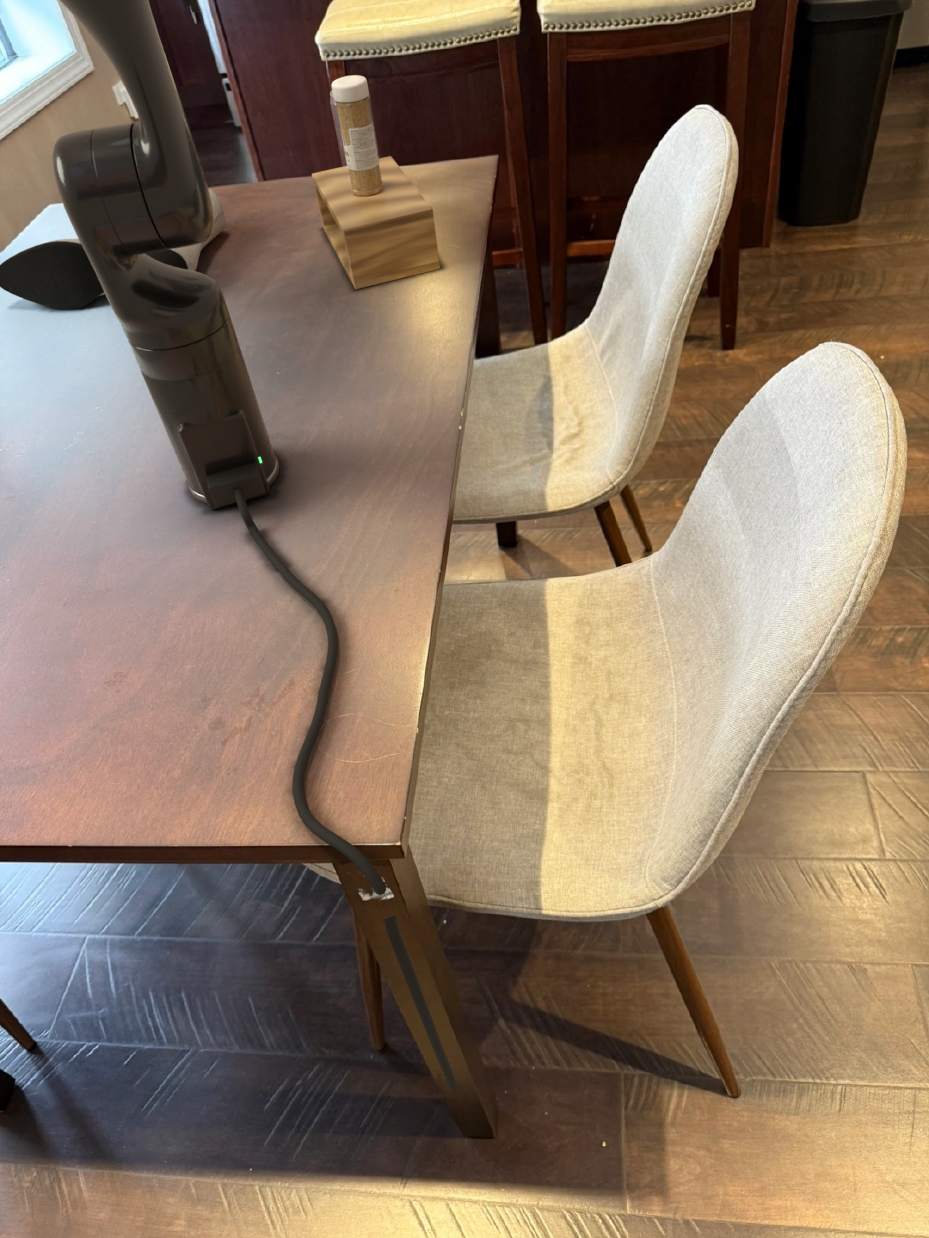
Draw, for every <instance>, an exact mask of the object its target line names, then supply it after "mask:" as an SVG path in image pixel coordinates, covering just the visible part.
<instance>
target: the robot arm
mask: <svg viewBox="0 0 929 1238" xmlns="http://www.w3.org/2000/svg"><path fill="white" fill-rule="evenodd" d="M58 1H59V2H60V3H61V4H62V5H63V6H64V7H65V8H66V9H67V10H68V11H69V12H70V13H71V14H72V15H73V17H74V18H75V19H76V21H78V22H79V23H80V24H81V25H82V27H83V28H84V29H85V31H86V32H87V33H88V34H89V35H90V37H91V38H92V39H93V41H94V42H95V43H96V44H97V46H98V47H99V48H100V50H101V51H102V52H103V54H104V55H105V56H106V58H107V59H108V61H109V62H110V64H111V66H112V67H113V68H114V70H115V72H116V73H117V75H118V77H119V79H120V81H121V82H122V84H123V87H124V88H125V90H126V92H127V94H128V96H129V98H130V101H131V103H132V105H133V107H134V109H135V112H136V115H137V117H138V120H139V121H133V122H127V123H120V124H113V125H109V126H102V127H95V128H90V129H89V128H88V129H84V130H77V131H72V132H67V133H65V134H62V135H61V136H59V137H58V138H57V139H56V141H55V143H54V145H53V149H52V153H51V161H52V172H53V176H54V180H55V186H56V189H57V191H58V194H59V197H60V200H61V202H62V205H63V207H64V210H65V213H66V215H67V217H68V220H69V222H70V224H71V227H72V228H73V231H74V232H75V235H76V236H77V239H79V241H80V243H81V245H82V247H83V249H84V251H85V253H86V255H87V257H88V259H89V261H90V263H91V265H92V267H93V269H94V271H95V273H96V275H97V277H98V279H99V281H100V283H101V285H102V287H103V290H104V292H105V294H106V295H105V297H106V298H107V301H108V303H109V306H110V308H111V310H112V312H113V314H114V316H115V317H116V319H117V320H118V322H119V323H120V326H121V327H122V330H123V332H124V335H125V337H126V339H127V341H128V343H129V346H130V349H131V351H132V353H133V356H134V358H135V360H136V364H137V365H138V368H139V370H140V373H141V375H142V377H143V380H144V382H145V385H146V388H147V389H148V392H149V394H150V396H151V399H152V401H153V404H154V407H155V409H156V411H157V413H158V415H159V418H160V420H161V422H162V425H163V427H164V430H165V432H166V434H167V437H168V439H169V442H170V444H171V446H172V449H173V451H174V453H175V455H176V458H177V460H178V463H179V465H180V467H181V470H182V472H183V475H184V477H185V479H186V484H187V486H188V490H189V491H190V493H191V495H192V496H193V497H194V498H195V499H196V500H198V501H199V502H201V503H204V504H207V507H208V509H209V510H210V511H214V510H217V509H221V508H224V507H228V506H232V505H234V504H236V505H237V508H238V510H239V514H240V515H241V518H242V520H243V522H244V524H245V527H246V528H247V530H248V532H249V533H250V535H251V537H252V538H253V540H254V541H255V543H256V545H257V546H258V548H260V550H261V552H262V553H263V554H264V556H265V557H266V558H267V560H268V561H269V562H270V563H271V564H272V565H273V567H274V568H275V569H276V570H277V572H279V573H280V574H279V575H281V576H282V577H283V579H284V580H285V582H287V584H288V585H290V586H291V588H293V589H294V590H295V591H296V592H297V593H299V595H301V596H302V597H303V598H304V599H305V600H306V601H308V602H309V603H310V604H311V605H312V606H313V607H314V609H316V611H317V612H318V614H319V615H320V617H321V619H322V621H323V624H324V626H325V630H326V636H327V654H326V658H325V659H326V660H325V664H324V669H323V673H322V677H321V681H320V685H319V689H318V694H317V698H316V699H317V700H316V705H315V709H314V712H313V716H312V720H311V723H310V725H309V728H308V731H307V733H306V735H305V738H304V740H303V742H302V745H301V748H300V750H299V752H298V755H297V757H296V761H295V765H294V768H293V769H294V770H293V774H292V782H291V783H292V784H291V785H292V787H291V788H292V796H293V797H292V798H293V801H294V806H295V809H296V812H297V815H298V817H299V818H300V819H301V821H302V823H303V824H304V825H305V826H306V828H307V829H308V831H310V832H311V833H312V834H313V835H314V836H316V837H317V838H318V839H320V840H321V841H323V842H324V843H326V845H329V846H330V847H332V848H333V849H335V850H336V851H337V852H339V853H341V854H342V855H343V856H344V857H346V858H347V859H348V860H349V861H350V862H352V863H353V864H354V865H355V867H357V868H358V869H359V871H360V872H361V873H362V874H363V876H364V877H365V879H366V880H367V882H368V883H369V885H370V887H371V888H372V891H373V892H374V893H375V894H376V895H377V896H382V895H384V894H385V893H386V891H387V885H386V884H385V882H384V879H383V878H382V876H381V875H380V873H379V872H378V870H377V869H376V868H375V866H374V864H373V863H372V862H371V861H370V860H369V859H368V858H367V857H366V855H364V854H363V853H362V852H361V851H360V850H359V849H358V848H357V847H356V846H354V845H353V844H352V843H350V842H349V841H347V840H346V839H345V838H343V837H341V836H340V835H338V834H337V833H336V832H334V831H332V830H330V829H329V828H328V827H326V826H325V825H324V824H322V823H321V822H320V821H319V820H318V819H317V818H316V817H315V816H314V814H313V813H312V811H311V810H310V807H309V805H308V802H307V799H306V792H305V777H306V772H307V768H308V767H307V766H308V764H309V761H310V758H311V754H312V751H313V749H314V747H315V744H316V742H317V739H318V738H319V735H320V731H321V729H322V727H323V723H324V722H325V721H324V720H325V716H326V713H327V708H328V703H329V697H330V693H331V688H332V683H333V679H334V675H335V672H336V671H335V670H336V665H337V661H338V655H339V636H338V629H337V625H336V624H335V620H334V618H333V615H332V613H331V612H330V610H329V608H328V607H327V605H326V604H325V603H324V602H323V600H322V599H321V598H320V597H319V596H318V595H317V594H316V593H315V592H313V591H312V590H311V589H310V588H309V587H307V586H306V585H305V584H304V583H302V581H301V580H299V579H298V578H297V577H296V576H295V574H293V572H292V571H291V570H290V569H289V568H288V567H287V565H286V564H285V562H283V561H282V559H280V557H279V556H278V555H277V554H276V552H275V551H274V550H273V549H272V548H271V546H270V545H269V544H268V542H267V541H266V539H265V538H264V536H263V535H262V533H261V532H260V530H259V528H258V526H257V525H256V523H255V521H254V519H253V517H252V515H251V512H250V510H249V507H248V505H247V502H246V501H249V500H253V499H257V498H260V497H263V496H267V495H269V494H271V491H270V487H271V486H272V484H274V482H275V481H276V479H277V478H278V476H279V472H280V464H279V461H278V458H277V455H276V453H275V451H274V449H273V446H272V443H271V440H270V436H269V433H268V430H267V426H266V425H265V421H264V418H263V414H262V411H261V409H260V405H259V402H258V400H257V396H256V393H255V390H254V387H253V384H252V381H251V377H250V373H249V371H248V368H247V365H246V362H245V358H244V355H243V352H242V349H241V346H240V343H239V340H238V336H237V333H236V329H235V327H234V324H233V321H232V317H231V314H230V311H229V308H228V305H227V301H226V298H225V295H224V292H223V291H222V288H221V287H220V285H219V284H218V282H217V281H216V280H215V279H213V278H212V277H211V276H209V275H207V274H205V273H202V272H199V271H196V270H195V271H192V270H187V269H182V268H177V267H173V266H170V265H167V264H164V263H161V262H159V261H157V260H155V259H153V258H151V257H149V256H148V255H146V254H145V253H152V252H158V251H164V250H170V249H176V248H182V247H188V246H193V245H197V244H200V243H203V242H205V241H207V240H208V238H209V237H210V235H211V233H212V229H213V212H212V204H211V199H210V194H209V189H210V188H209V185H208V182H207V178H206V175H205V172H204V168H203V165H202V162H201V159H200V155H199V152H198V148H197V146H196V143H195V142H196V141H195V140H194V136H193V134H192V133H193V132H192V131H191V128H190V125H189V121H188V118H187V116H186V113H185V110H184V106H183V104H182V100H181V97H180V95H179V92H178V89H177V85H176V82H175V80H174V79H175V78H174V77H173V73H172V71H171V67H170V65H169V62H168V58H167V55H166V53H165V52H166V51H165V49H164V45H163V43H162V40H161V37H160V33H159V31H158V27H157V24H156V21H155V18H154V15H153V12H152V8H151V4H150V0H58ZM181 2H182V3H183V5H184V7H190V10H191V13H197V12H199V7H198V3H197V1H196V0H181ZM208 188H209V189H208ZM383 921H384V926H385V930H386V934H387V935H388V936H387V937H388V939H389V942H390V944H391V947H392V949H393V952H394V955H395V957H396V960H397V963H398V965H399V968H400V970H401V973H402V976H403V978H404V980H405V981H404V982H405V983H406V985H407V988H408V990H409V994H410V995H411V998H412V1001H413V1004H414V1006H415V1009H416V1010H417V1011H416V1012H417V1014H418V1016H419V1018H420V1021H421V1023H422V1026H423V1028H424V1030H425V1031H424V1032H425V1033H426V1036H427V1038H428V1040H429V1043H430V1045H431V1047H432V1050H433V1053H434V1055H435V1057H436V1060H437V1062H438V1064H439V1067H440V1069H441V1072H442V1075H443V1077H444V1079H445V1081H446V1085H447V1088H448V1089H449V1091H450V1092H451V1093H455V1092H457V1091H458V1087H459V1086H458V1082H457V1081H456V1078H455V1075H454V1072H453V1070H452V1067H451V1065H450V1062H449V1059H448V1057H447V1054H446V1051H445V1049H444V1046H443V1043H442V1041H441V1038H440V1036H439V1033H438V1031H437V1030H438V1029H437V1028H436V1025H435V1023H434V1020H433V1017H432V1015H431V1011H430V1009H429V1006H428V1004H427V1001H426V998H425V996H424V993H423V989H421V985H420V982H419V980H418V977H417V975H416V972H415V969H414V967H413V963H412V961H411V958H410V955H409V953H408V950H407V947H406V944H405V942H404V939H403V936H402V934H401V931H400V928H399V924H398V920H397V915H393V916H390V917H387V918H385V919H383Z"/></svg>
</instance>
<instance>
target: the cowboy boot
mask: <svg viewBox="0 0 929 1238" xmlns="http://www.w3.org/2000/svg"><path fill="white" fill-rule="evenodd" d="M208 189H209V194H210V199H211V204H212V212H213V229H212V233H211V235H210V237H209V238H208V240H207V241H205V242H203V243H200V244H197V245H193V246H188V247H182V248H176V249H170V250H164V251H158V252H152V253H145V254H146V255H148V256H149V257H151V258H153V259H155V260H157V261H159V262H161V263H164V264H167V265H170V266H173V267H177V268H182V269H187V270H192V271H196V270H197V267H198V263H199V258H200V255H201V251H202V250H203V249H204V248H205V247H206V245H208V244H209V243H210V242H212V241H213V240H214V239H215V238H216V237H217V236H218V235H219V234H221V232H222V231H224V230H225V228H226V226H227V220H226V216H225V213H224V209H223V205H222V202H221V200H220V197H219V196H218V194H217V193H216V192H215V191H214V190H213V189H212V188H209V187H208ZM0 289H2V290H4V291H5V292H8V293H9V294H11V295H13V296H16V297H18V298H21V299H23V300H26V301H28V302H31V303H35V304H38V305H41V306H44V307H48V308H51V309H58V310H64V311H74V310H79V309H82V308H84V307H86V306H88V305H89V304H90V303H92V302H93V301H94V300H95V299H97V298H98V297H102V296H106V294H105V292H104V290H103V287H102V285H101V283H100V281H99V279H98V277H97V275H96V273H95V271H94V269H93V267H92V265H91V263H90V261H89V259H88V257H87V255H86V253H85V251H84V249H83V247H82V245H81V243H80V241H79V238H60V239H55V240H49V241H47V242H44V243H40V244H37V245H34V246H31V247H28V248H26V249H23V250H22V251H19V252H17V253H16V254H13V255H12V256H10V257H9V258H7V259H5V260H4V261H3V262H1V263H0Z"/></svg>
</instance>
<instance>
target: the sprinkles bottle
mask: <svg viewBox="0 0 929 1238" xmlns="http://www.w3.org/2000/svg"><path fill="white" fill-rule="evenodd" d="M331 91H332V92H333V97H334V100H335V101H336V102H335V103H336V105H337V111H338V116H339V121H340V127H341V135H342V140H343V146H344V151H345V157H346V162H347V167H348V170H349V176H350V180H351V191H352V192H353V194H355V195H359V196H365V195H371V194H375V193H378V192H379V191H381V190H382V189H383V187H384V186H383V182H382V180H381V173H380V168H379V157H378V151H377V145H376V138H375V132H374V126H373V121H372V117H371V111H370V105H369V96H368V95H370V91H369V85H368V81H367V78H366V77H365V76H363V75H358V74H355V75H353V74H352V75H345V76H342V77H339V78H335V80H333V81H332V82H331Z"/></svg>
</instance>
